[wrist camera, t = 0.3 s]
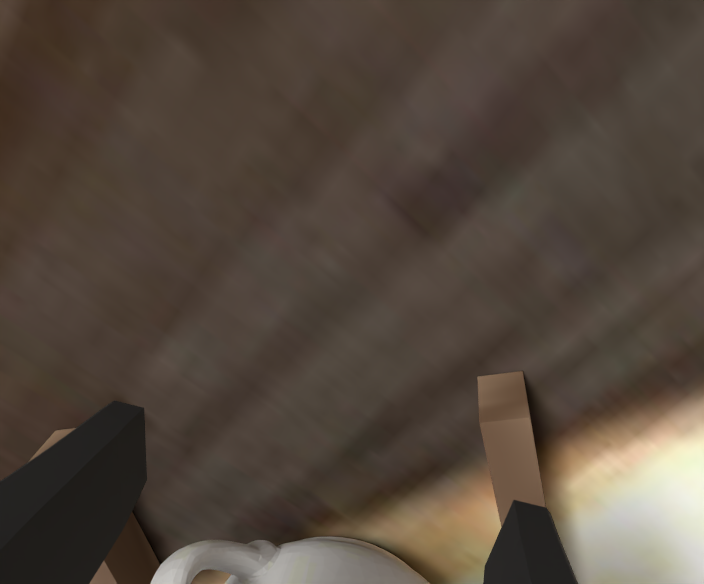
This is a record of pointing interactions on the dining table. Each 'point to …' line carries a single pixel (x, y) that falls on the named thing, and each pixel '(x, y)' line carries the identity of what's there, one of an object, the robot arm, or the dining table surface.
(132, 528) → the tray
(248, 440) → the dining table surface
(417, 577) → the teacup
